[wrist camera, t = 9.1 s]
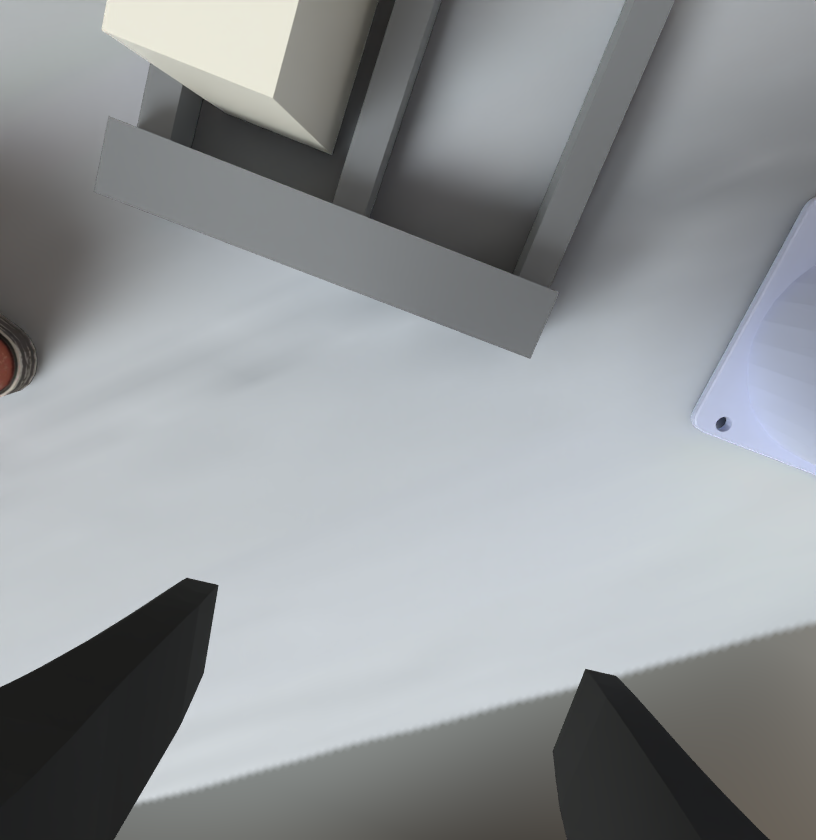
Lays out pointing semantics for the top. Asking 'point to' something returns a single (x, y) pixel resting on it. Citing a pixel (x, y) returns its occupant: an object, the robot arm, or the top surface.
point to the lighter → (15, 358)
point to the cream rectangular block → (255, 56)
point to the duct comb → (359, 184)
